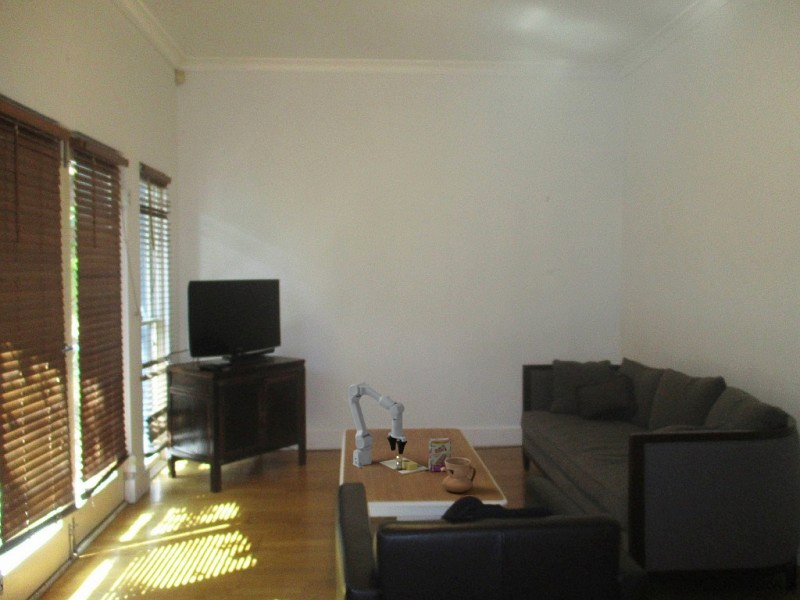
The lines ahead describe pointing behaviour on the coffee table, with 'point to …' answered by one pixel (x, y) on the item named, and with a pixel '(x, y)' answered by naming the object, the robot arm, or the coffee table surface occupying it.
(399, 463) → the banded metal canister
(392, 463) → the subfloor board
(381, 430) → the coffee table surface
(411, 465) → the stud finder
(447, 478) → the ceramic jug
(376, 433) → the coffee table surface
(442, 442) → the candy bar box
